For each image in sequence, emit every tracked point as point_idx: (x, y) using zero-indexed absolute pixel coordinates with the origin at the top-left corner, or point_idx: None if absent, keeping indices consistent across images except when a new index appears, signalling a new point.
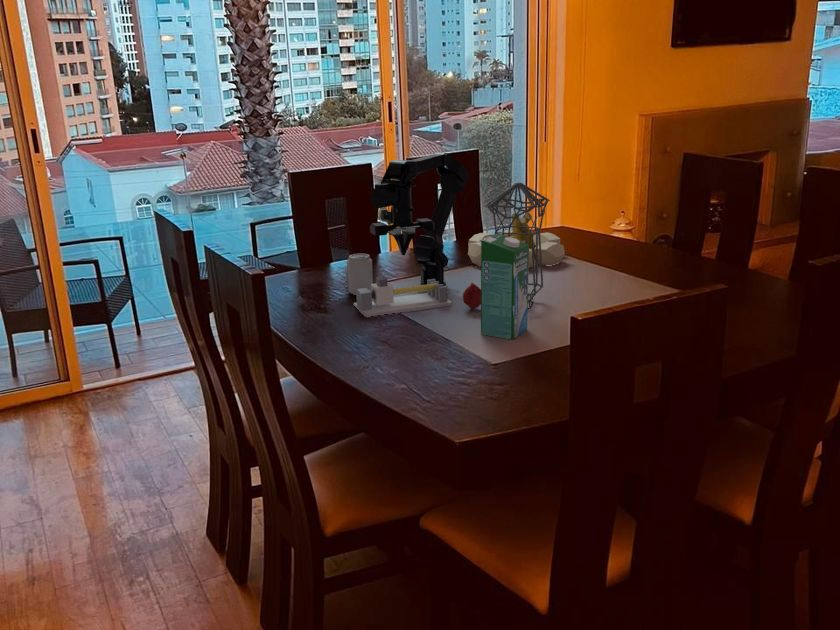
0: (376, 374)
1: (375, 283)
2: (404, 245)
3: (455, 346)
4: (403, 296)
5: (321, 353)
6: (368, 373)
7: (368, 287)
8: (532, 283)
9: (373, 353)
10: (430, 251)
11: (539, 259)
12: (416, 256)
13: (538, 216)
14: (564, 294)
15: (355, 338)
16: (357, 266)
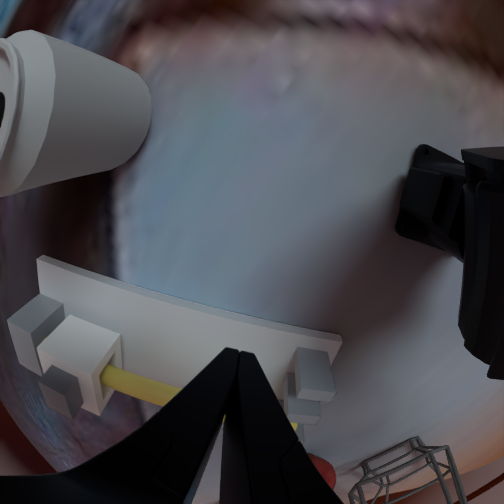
0: (63, 465)
1: (50, 355)
2: (226, 465)
3: None
4: (200, 316)
5: (7, 401)
6: (56, 459)
7: (97, 172)
8: (451, 467)
9: (61, 445)
10: (484, 362)
11: None
12: (464, 199)
13: None
14: (483, 435)
15: (39, 405)
16: None
